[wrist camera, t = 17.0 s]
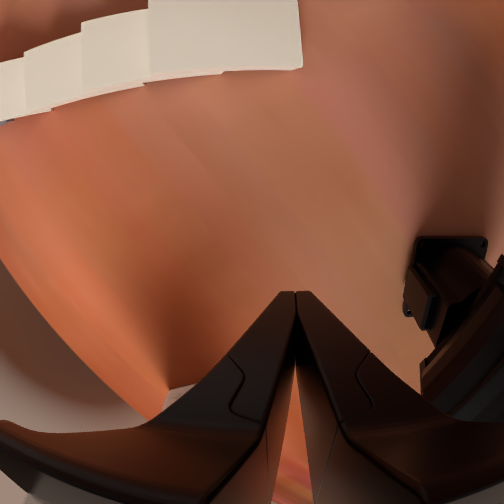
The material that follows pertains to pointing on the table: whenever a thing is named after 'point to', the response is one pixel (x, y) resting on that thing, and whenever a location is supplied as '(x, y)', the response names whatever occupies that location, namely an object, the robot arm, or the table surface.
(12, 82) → the domino
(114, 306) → the table surface
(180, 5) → the domino
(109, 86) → the domino
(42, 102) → the domino
